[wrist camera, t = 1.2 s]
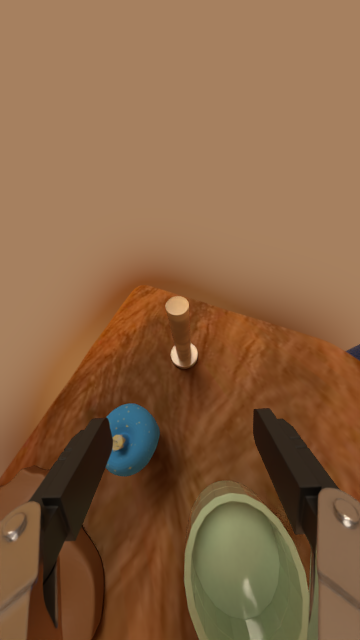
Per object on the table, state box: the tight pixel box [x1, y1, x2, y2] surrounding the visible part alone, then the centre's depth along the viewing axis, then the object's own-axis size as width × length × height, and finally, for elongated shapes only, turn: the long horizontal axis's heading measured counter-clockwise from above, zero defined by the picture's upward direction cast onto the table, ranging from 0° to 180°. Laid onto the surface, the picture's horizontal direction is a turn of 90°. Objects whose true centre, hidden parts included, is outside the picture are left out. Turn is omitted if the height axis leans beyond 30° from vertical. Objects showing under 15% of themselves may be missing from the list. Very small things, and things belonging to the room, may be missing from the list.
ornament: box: [106, 404, 160, 476], centre depth 18 cm, size 5×5×15 cm
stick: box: [166, 296, 198, 369], centre depth 24 cm, size 5×5×15 cm
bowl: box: [184, 480, 309, 640], centre depth 17 cm, size 10×10×5 cm
